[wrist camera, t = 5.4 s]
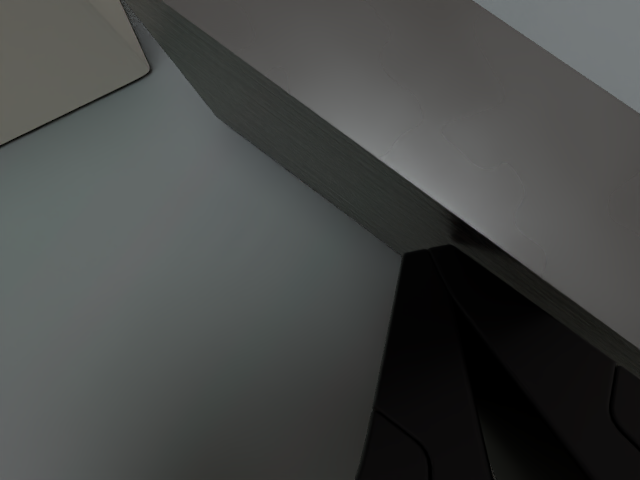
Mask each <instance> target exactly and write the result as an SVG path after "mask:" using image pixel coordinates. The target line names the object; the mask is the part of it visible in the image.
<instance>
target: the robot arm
mask: <svg viewBox="0 0 640 480" xmlns="http://www.w3.org/2000/svg"><path fill="white" fill-rule="evenodd" d="M616 366H617V363H616V361H614V360H613V359H611V358H610V357H609V356H607V355H606V354H605V353H603V352H602V351H600V350H599V349H598V348H596V347H595V346H593V345H592V344H591V343H589V342H588V341H586V340H585V339H584V338H582V337H581V336H579V335H578V334H577V333H575V332H574V331H572V330H571V329H570V328H568V327H567V326H566V325H564V324H563V323H561V322H560V321H559V320H557V319H556V318H554V317H553V316H552V315H550V314H549V313H547V312H546V311H545V310H543V309H542V308H540V307H539V306H538V305H536V304H535V303H533V302H532V301H531V300H529V299H528V298H527V297H525V296H524V295H522V294H521V293H520V292H518V291H517V290H515V289H514V288H513V287H511V286H510V285H508V284H507V283H506V282H504V281H503V280H501V279H500V278H499V277H497V276H496V275H494V274H493V273H492V272H490V271H489V270H487V269H486V268H485V267H483V266H482V265H481V264H479V263H478V262H476V261H475V260H474V259H472V258H471V257H469V256H468V255H467V254H465V253H464V252H462V251H461V250H460V249H458V248H457V247H455V246H454V245H452V244H446V245H441V246H435V247H430V248H429V249H428V250H427V249H420V250H415V251H410V252H406V253H404V254H403V256H402V261H401V266H400V271H399V276H398V281H397V286H396V291H395V296H394V302H393V307H392V312H391V317H390V322H389V327H388V332H387V337H386V342H385V347H384V352H383V357H382V362H381V367H380V372H379V377H378V382H377V387H376V392H375V397H374V402H373V407H372V409H373V411H372V412H371V416H370V421H369V426H368V431H367V435H366V439H365V444H364V448H363V452H362V456H361V460H360V464H359V468H358V471H357V474H356V477H355V480H493V477H492V472H491V468H490V465H491V467H492V469H493V472H494V474H495V476H496V479H497V480H640V378H638V377H637V376H636V375H634V374H633V373H631V372H630V371H629V370H627V369H626V368H624V367H623V366H621V365H619V366H617V367H616ZM489 462H490V463H489Z"/></svg>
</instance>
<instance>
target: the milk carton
mask: <svg viewBox="0 0 640 480" xmlns="http://www.w3.org/2000/svg"><path fill="white" fill-rule="evenodd" d="M149 69H150V68H149V64H148V62H147V60H146V58H145V55H144V53H143V51H142V49H141V47H140V44H139V42H138V40H137V38H136V35H135V33H134V31H133V29H132V27H131V24H130V22H129V20H128V18H127V16H126V13H125V11H124V9H123V7H122V4H121V2H120V0H0V145H2V144H4V143H6V142H8V141H10V140H12V139H14V138H16V137H18V136H20V135H22V134H25V133H27V132H29V131H31V130H33V129H35V128H37V127H39V126H41V125H43V124H45V123H47V122H49V121H51V120H54V119H56V118H58V117H60V116H62V115H64V114H66V113H68V112H70V111H72V110H74V109H76V108H78V107H80V106H83V105H85V104H87V103H89V102H91V101H93V100H95V99H97V98H99V97H101V96H103V95H105V94H107V93H109V92H112V91H114V90H116V89H118V88H120V87H122V86H124V85H126V84H128V83H130V82H132V81H134V80H136V79H138V78H140V77H142V76H143V75H145V74H147V73H148V72H149Z"/></svg>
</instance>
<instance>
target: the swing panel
mask: <svg viewBox="0 0 640 480" xmlns="http://www.w3.org/2000/svg"><path fill="white" fill-rule="evenodd" d="M124 1H125V2H126V3H127V4H128V6H129V7H130V8H131V9H132V11H133V12H134V13H135V14H136V16H137V17H138V18H139V19H140V21H141V22H142V23H143V25H144V26H145V27H146V28H147V30H148V31H149V32H150V33H151V35H152V36H153V37H154V38H155V40H156V41H157V42H158V43H159V45H160V46H161V47H162V49H163V50H164V51H165V52H166V54H167V55H168V56H169V57H170V59H171V60H172V61H173V62H174V64H175V65H176V66H177V67H178V69H179V70H180V71H181V72H182V74H183V75H184V76H185V78H186V79H187V80H188V81H189V83H190V84H191V85H192V86H193V88H194V89H195V90H196V91H197V93H198V94H199V95H200V96H201V98H202V99H203V100H204V101H205V103H206V104H207V105H208V107H209V108H210V109H211V110H212V112H213V113H214V114H215V115H216V117H218V118H219V119H220V120H222V121H223V122H224V123H226V124H227V125H228V126H230V127H231V128H232V129H234V130H235V131H236V132H238V133H239V134H240V135H242V136H243V137H244V138H246V139H247V140H248V141H250V142H251V143H252V144H254V145H255V146H256V147H258V148H259V149H260V150H262V151H263V152H264V153H266V154H267V155H268V156H270V157H271V158H272V159H274V160H275V161H276V162H278V163H279V164H280V165H282V166H283V167H284V168H286V169H287V170H288V171H290V172H291V173H292V174H294V175H295V176H296V177H298V178H299V179H300V180H302V181H303V182H304V183H306V184H307V185H308V186H310V187H311V188H312V189H314V190H315V191H316V192H318V193H319V194H320V195H322V196H323V197H324V198H326V199H327V200H328V201H330V202H331V203H332V204H334V205H335V206H336V207H338V208H339V209H340V210H342V211H343V212H344V213H346V214H347V215H348V216H350V217H351V218H352V219H354V220H355V221H356V222H358V223H359V224H360V225H362V226H363V227H364V228H366V229H367V230H368V231H370V232H371V233H372V234H374V235H375V236H376V237H378V238H379V239H380V240H382V241H383V242H384V243H386V244H387V245H388V246H390V247H391V248H392V249H394V250H395V251H396V252H398V253H399V254H400V255H402V256H403V254H404V253H406V252H410V251H415V250H420V249H427V250H428V249H429V248H430V247H435V246H441V245H446V244H452V245H454V246H455V247H457V248H458V249H460V250H461V251H462V252H464V253H465V254H467V255H468V256H469V257H471V258H472V259H474V260H475V261H476V262H478V263H479V264H481V265H482V266H483V267H485V268H486V269H487V270H489V271H490V272H492V273H493V274H494V275H496V276H497V277H499V278H500V279H501V280H503V281H504V282H506V283H507V284H508V285H510V286H511V287H513V288H514V289H515V290H517V291H518V292H520V293H521V294H522V295H524V296H525V297H527V298H528V299H529V300H531V301H532V302H533V303H535V304H536V305H538V306H539V307H540V308H542V309H543V310H545V311H546V312H547V313H549V314H550V315H552V316H553V317H554V318H556V319H557V320H559V321H560V322H561V323H563V324H564V325H566V326H567V327H568V328H570V329H571V330H572V331H574V332H575V333H577V334H578V335H579V336H581V337H582V338H584V339H585V340H586V341H588V342H589V343H591V344H592V345H593V346H595V347H596V348H598V349H599V350H600V351H602V352H603V353H605V354H606V355H607V356H609V357H610V358H611V359H613V360H614V361H616V363H617V366H619V365H621V366H623V367H624V368H626V369H627V370H629V371H630V372H631V373H633V374H634V375H636V376H637V377H638V378H640V114H639V113H638V112H636V111H635V110H633V109H632V108H630V107H629V106H627V105H626V104H625V103H623V102H622V101H620V100H619V99H617V98H616V97H614V96H613V95H611V94H610V93H608V92H607V91H605V90H604V89H602V88H601V87H599V86H598V85H596V84H595V83H594V82H592V81H591V80H589V79H588V78H586V77H585V76H583V75H582V74H580V73H579V72H577V71H576V70H574V69H573V68H571V67H570V66H568V65H567V64H565V63H564V62H563V61H561V60H560V59H558V58H557V57H555V56H554V55H552V54H551V53H549V52H548V51H546V50H545V49H543V48H542V47H540V46H539V45H537V44H536V43H534V42H533V41H532V40H530V39H529V38H527V37H526V36H524V35H523V34H521V33H520V32H518V31H517V30H515V29H514V28H512V27H511V26H509V25H508V24H506V23H505V22H503V21H502V20H501V19H499V18H498V17H496V16H495V15H493V14H492V13H490V12H489V11H487V10H486V9H484V8H483V7H481V6H480V5H478V4H477V3H475V2H474V1H472V0H124ZM617 366H616V367H617Z"/></svg>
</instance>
